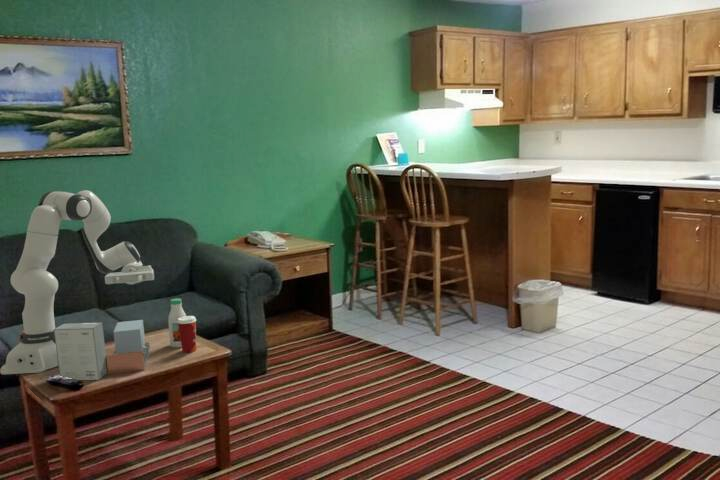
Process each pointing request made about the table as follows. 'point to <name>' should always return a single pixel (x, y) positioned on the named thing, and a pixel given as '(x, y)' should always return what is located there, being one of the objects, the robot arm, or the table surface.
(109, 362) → the roller conveyor
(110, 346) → the table surface
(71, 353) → the hard drive box
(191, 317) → the paper cup
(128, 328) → the light blue box
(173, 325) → the milk bottle
